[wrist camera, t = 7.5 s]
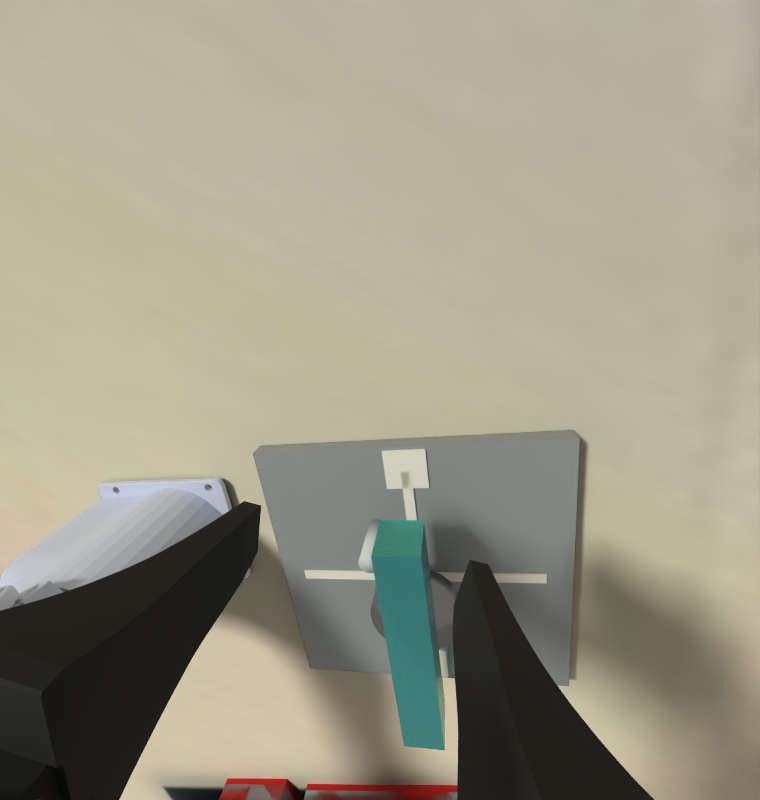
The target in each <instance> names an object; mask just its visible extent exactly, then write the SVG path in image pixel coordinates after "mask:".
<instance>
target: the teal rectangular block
mask: <svg viewBox="0 0 760 800" xmlns="http://www.w3.org/2000/svg"><path fill="white" fill-rule="evenodd" d="M371 559H372V565H373V570H374V576H375V582H376V588H375V592H374V596H373V601H372V606H371V619H372V622H373V624H374V626H375V628H376V630H377V631H378V632H379V633H380V634H381V635H382V636H383V637H384V638H385V639H386V644H387V650H388V656H389V662H390V667H391V673H392V679H393V684H394V690H395V696H396V701H397V707H398V713H399V718H400V724H401V730H402V736H403V741H404V746H409V747H418V748H428V749H438V750H445V699H444V690H443V681H442V673H441V664H440V655H439V649H441V648H444V647H446V646H447V645H449V644H451V643H452V642H453V638H452V635H453V611H454V603H455V600H456V597H457V594H458V591H457V589H456V588H455V587H454V585H453V584H452V583H451V582H450V581H449V580H448V579H447V578H445V577H444V576H442V575H441V574H439V573H437V572H435V571H433V570H430V569H429V560H428V551H427V543H426V534H425V525H424V520H390V521H380V523H379V527H378V531H377V535H376V539H375V543H374V547H373V551H372V555H371Z"/></svg>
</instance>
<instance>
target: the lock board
mask: <svg viewBox="0 0 760 800" xmlns="http://www.w3.org/2000/svg"><path fill="white" fill-rule="evenodd" d="M579 445H580V438H579V437H578V435H577V434H576V433H575V431H574V430H566V431H546V432H526V433H506V434H486V435H466V436H446V437H427V438H407V439H387V440H367V441H347V442H327V443H307V444H288V445H268V446H260V447H259V448H258V449H257V450H256V451H255V452H254V453H253V456H254V460H255V463H256V467H257V471H258V475H259V478H260V482H261V486H262V490H263V493H264V497H265V501H266V505H267V508H268V512H269V516H270V520H271V523H272V527H273V531H274V534H275V538H276V542H277V546H278V549H279V553H280V557H281V561H282V564H283V568H284V572H285V576H286V579H287V583H288V587H289V591H290V594H291V598H292V602H293V606H294V609H295V613H296V617H297V621H298V624H299V628H300V632H301V635H302V639H303V643H304V647H305V650H306V654H307V658H308V662H309V665H310V668H314V669H328V670H343V671H357V672H372V673H387V674H392V673H391V667H390V662H389V656H388V650H387V644H386V639H385V638H384V637H383V636H382V635H381V634H380V633H379V632H378V631H377V630H376V628H375V626H374V624H373V622H372V619H371V606H372V601H373V596H374V592H375V588H376V582H375V576H374V570H373V565H372V559H371V555H372V551H373V547H374V543H375V539H376V535H377V531H378V527H379V523H380V521H390V520H424V525H425V534H426V543H427V551H428V560H429V569H430V570H433V571H435V572H437V573H439V574H441V575H442V576H444V577H445V578H447V579H448V580H449V581H450V582H451V583H452V584H453V585H454V587H455V588H456V589H457V591H459V588H460V585H461V582H462V580H463V577H464V574H465V571H466V568H467V565H468V562H469V560H474V561H477V562H481V563H485V564H488V565H489V567H490V568H491V570H492V572H493V575H494V577H495V579H496V581H497V583H498V585H499V587H500V589H501V591H502V593H503V595H504V597H505V599H506V601H507V603H508V605H509V607H510V609H511V611H512V613H513V615H514V616H515V618H516V620H517V622H518V624H519V626H520V627H521V629H522V631H523V633H524V634H525V636H526V638H527V640H528V641H529V643H530V645H531V646H532V648H533V650H534V651H535V653H536V654H537V656H538V658H539V659H540V661H541V662H542V664H543V666H544V667H545V669H546V670H547V672H548V673H549V675H550V676H551V677H552V679H553V680H554V682H555V683H556V685H561V686H569V674H570V651H571V628H572V605H573V582H574V560H575V537H576V514H577V491H578V468H579ZM439 655H440V664H441V673H442V677H445V678H455V670H454V655H453V642H452V643H451V644H449V645H447V646H446V647H444V648H441V649H439Z"/></svg>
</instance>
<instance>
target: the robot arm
mask: <svg viewBox="0 0 760 800" xmlns="http://www.w3.org/2000/svg"><path fill="white" fill-rule="evenodd" d="M208 484H209V485H210V486H211V487H212V488H211V487H209V485H208ZM98 491H99V494H100V496H101V499H99V500H98V501H97V502H95V503H94V504H92V505H91V506H90V507H88V508H87V509H85V510H84V511H82V512H81V513H80V514H78V515H77V516H75V517H74V518H72V519H71V520H70V521H68V522H67V523H65V524H64V525H62V526H61V527H60V528H58V529H57V530H55V531H54V532H52V533H51V534H50V535H48V536H47V537H45V538H44V539H42V540H41V541H40V542H38V543H37V544H35V545H34V546H32V547H31V548H30V549H28V550H27V551H25V552H24V553H23V554H21V555H20V556H19V557H18V558H17V559H16V560H15V561H13V562H12V564H11V565H10V566H9V567H8V568H7V569H6V570H5V572H4V573H3V575H2V576H1V578H0V800H119V799H120V797H121V795H122V793H123V790H124V788H125V786H126V784H127V782H128V780H129V778H130V776H131V774H132V772H133V770H134V768H135V766H136V764H137V762H138V760H139V758H140V756H141V754H142V752H143V750H144V748H145V746H146V744H147V742H148V740H149V738H150V736H151V734H152V732H153V730H154V728H155V726H156V724H157V722H158V720H159V719H160V717H161V715H162V713H163V711H164V709H165V707H166V705H167V703H168V701H169V700H170V698H171V696H172V694H173V692H174V690H175V688H176V686H177V685H178V683H179V681H180V679H181V677H182V675H183V674H184V672H185V670H186V668H187V666H188V664H189V663H190V661H191V659H192V657H193V655H194V654H195V652H196V651H197V649H198V647H199V646H200V644H201V642H202V641H203V639H204V638H205V636H206V635H207V633H208V632H209V630H210V629H211V627H212V626H213V624H214V623H215V621H216V620H217V618H218V617H219V615H220V614H221V612H222V611H223V609H224V608H225V606H226V605H227V603H228V602H229V600H230V599H231V597H232V596H233V594H234V593H235V591H236V590H237V588H238V587H239V585H240V584H241V582H242V581H243V579H245V578H248V577H249V575H250V573H251V569H250V565H251V563H252V561H253V559H254V557H255V555H256V553H257V549H258V537H259V524H260V512H261V506H260V505H256V504H253V503H249V502H245V501H244V502H242V503H241V504H239V505H237V506H236V507H234V508H233V509H232V506H231V502H230V499H229V496H228V493H227V489H226V486H225V483H224V482H223V481H222V480H221V479H219V478H198V479H169V480H139V481H109V482H103V483H101V484H100V485H99V486H98ZM452 638H453V655H454V670H455V684H456V698H457V712H458V787H457V800H654V799H653V798H652V797H651V796H650V795H649V794H648V793H647V792H646V791H645V790H644V789H643V788H642V787H641V786H640V785H639V784H638V783H637V782H636V781H635V780H634V779H633V777H632V776H631V775H630V774H629V773H628V772H627V771H626V770H625V769H624V767H623V766H622V765H621V764H620V763H619V762H618V761H617V760H616V758H615V757H614V756H613V755H612V754H611V753H610V752H609V751H608V749H607V748H606V747H605V746H604V745H603V744H602V742H601V741H600V740H599V739H598V738H597V736H596V735H595V734H594V733H593V732H592V730H591V729H590V728H589V727H588V725H587V724H586V723H585V722H584V720H583V719H582V718H581V717H580V715H579V714H578V713H577V712H576V710H575V709H574V708H573V706H572V705H571V704H570V703H569V701H568V700H567V699H566V697H565V696H564V694H563V693H562V692H561V690H560V689H559V687H558V686H557V685H556V683H555V682H554V680H553V679H552V677H551V676H550V675H549V673H548V672H547V670H546V669H545V667H544V666H543V664H542V662H541V661H540V659H539V658H538V656H537V654H536V653H535V651H534V650H533V648H532V646H531V645H530V643H529V641H528V640H527V638H526V636H525V634H524V633H523V631H522V629H521V627H520V626H519V624H518V622H517V620H516V618H515V616H514V615H513V613H512V611H511V609H510V607H509V605H508V603H507V601H506V599H505V597H504V595H503V593H502V591H501V589H500V587H499V585H498V583H497V581H496V579H495V577H494V575H493V572H492V570H491V568H490V567H489V565H488V564H485V563H481V562H477V561H474V560H469V562H468V565H467V568H466V571H465V574H464V577H463V580H462V582H461V585H460V588H459V591H458V594H457V597H456V600H455V603H454V611H453V635H452Z"/></svg>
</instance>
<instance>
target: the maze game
mask: <svg viewBox="0 0 760 800" xmlns="http://www.w3.org/2000/svg"><path fill="white" fill-rule="evenodd" d="M457 787H458V786H457V785H342V784H308V785H307V789H306V793H305V796H304V800H457ZM219 800H300V799H299V797H298V796H297V794H296V792H295V791H294V789H293V788H292V786H291V784H290V783H289V781H288V780H287V779H227V782H226V784H225V786H224V789H223V791H222V794H221V796H220V798H219Z"/></svg>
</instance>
